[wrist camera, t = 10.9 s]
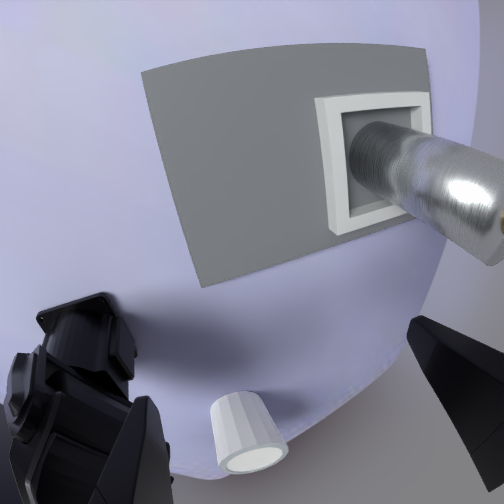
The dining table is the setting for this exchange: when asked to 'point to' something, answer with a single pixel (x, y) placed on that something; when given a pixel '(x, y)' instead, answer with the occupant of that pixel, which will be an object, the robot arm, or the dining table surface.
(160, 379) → the dining table surface
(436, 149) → the gold-capped silver bottle
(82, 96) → the dining table surface
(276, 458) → the shot glass
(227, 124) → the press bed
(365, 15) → the dining table surface
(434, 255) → the dining table surface
